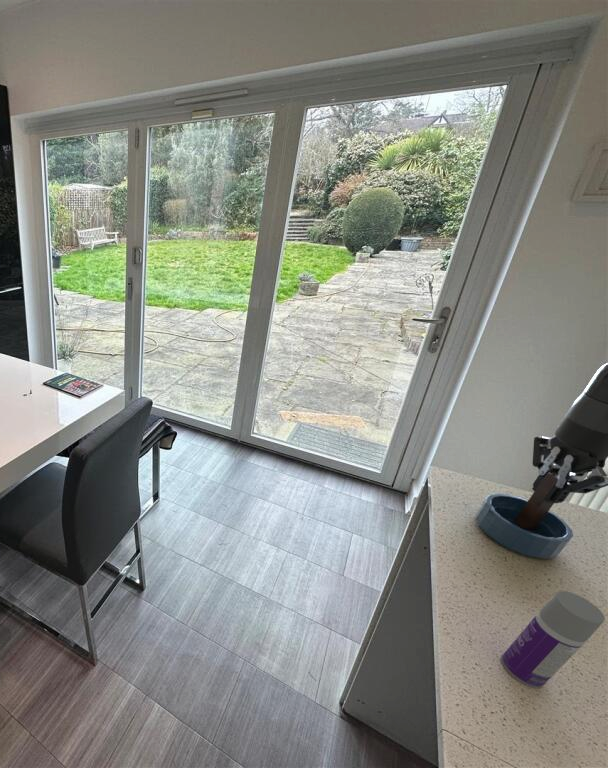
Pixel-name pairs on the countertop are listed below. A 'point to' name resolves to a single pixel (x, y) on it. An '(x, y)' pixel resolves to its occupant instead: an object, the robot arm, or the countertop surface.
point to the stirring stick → (537, 504)
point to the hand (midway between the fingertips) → (544, 496)
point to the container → (551, 638)
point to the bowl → (539, 543)
